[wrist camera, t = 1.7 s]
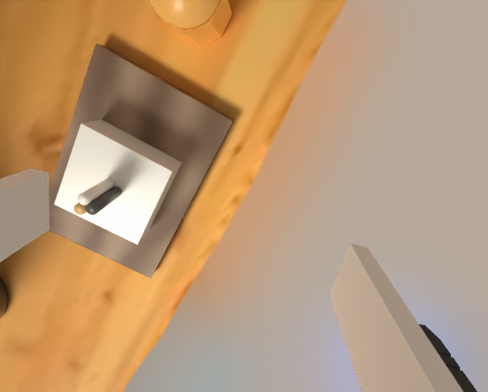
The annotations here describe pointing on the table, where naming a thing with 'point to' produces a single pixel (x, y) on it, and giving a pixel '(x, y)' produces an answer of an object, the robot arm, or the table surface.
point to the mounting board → (151, 132)
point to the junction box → (115, 180)
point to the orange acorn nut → (195, 17)
